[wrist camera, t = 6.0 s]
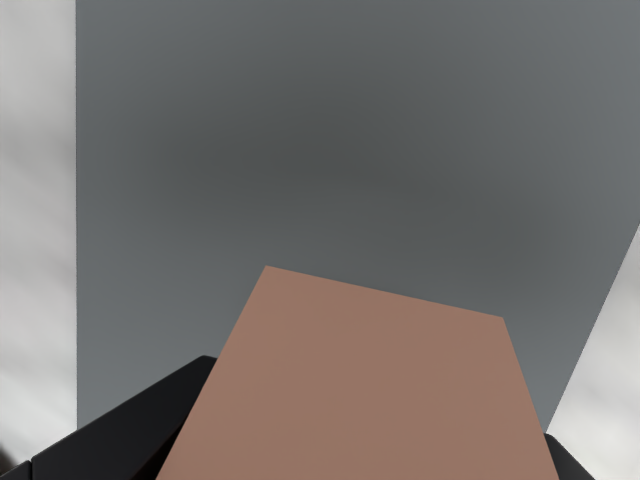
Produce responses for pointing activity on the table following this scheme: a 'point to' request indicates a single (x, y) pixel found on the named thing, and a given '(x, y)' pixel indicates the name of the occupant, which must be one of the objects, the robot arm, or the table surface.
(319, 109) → the mat
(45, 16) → the table surface
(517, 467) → the domino
